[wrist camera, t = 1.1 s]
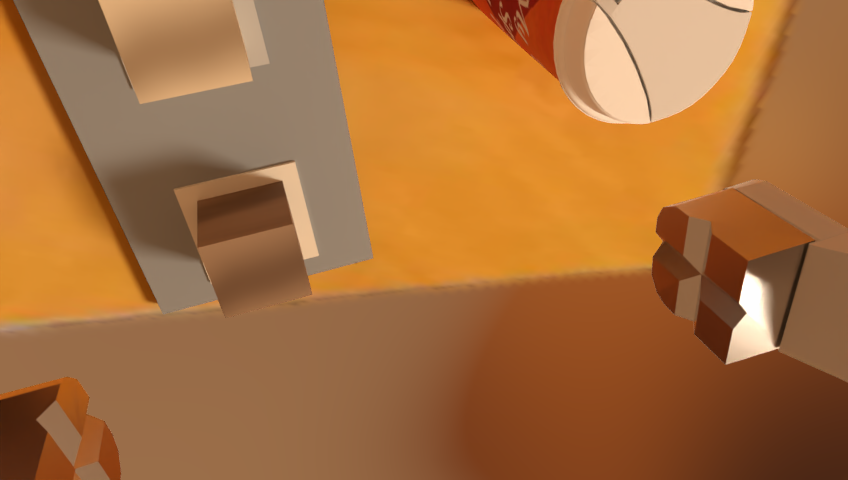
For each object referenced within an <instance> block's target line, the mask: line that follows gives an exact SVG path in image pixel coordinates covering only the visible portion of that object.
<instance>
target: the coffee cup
mask: <svg viewBox="0 0 848 480" xmlns="http://www.w3.org/2000/svg"><path fill="white" fill-rule="evenodd" d="M472 1H473V2H474V3H475V5H476V6H477V7H478V8H479V9H480V10H481V11H482V12H483V13H484V14H485V15H486V16H487V17H488V18H489V19H490V20H492V21H493V22H494V23H495V24H496V25H497V26H498V27H499V28H500V29H501V30H503V31H504V32H505V33H506V34H507V35H508V36H509V37H510V38H511V39H513V40H514V41H515V42H516V43H517V44H518V45H519V46H520V47H522V48H523V49H524V50H525V51H526V52H527V53H528V54H529V55H531V56H532V57H533V58H534V59H535V60H536V61H537V62H538V63H540V64H541V65H542V66H543V67H544V68H545V69H546V70H548V71H549V72H550V73H551V74H552V75H553V76H554V77H555V78H557V79H558V80H559V82H560V84H561V87H562V89H563V90H564V92H565V94H566V95H567V97H568V99H569V100H570V101H571V102H572V103H573V104H574V105H575V106H576V107H577V108H578V109H579V110H581V111H582V112H583V113H585V114H586V115H588V116H590V117H592V118H594V119H597V120H599V121H604V122H608V123H623V124H624V123H630V124H647V123H650V121H651V122H655V121H658V120H661V119H664V118H667V117H669V116H671V115H674V114H676V113H679V112H681V111H683V110H684V109H686V108H688V107H690V106H691V105H693V104H694V103H695V102H697V101H698V100H699V99H700V98H702V97H703V96H704V95H705V94H706V93H707V92H708V91H709V90H710V89H711V88H712V87H713V86H714V85H715V84H716V82H717V81H718V80H719V79H720V78H721V76H722V75H723V74H724V73H725V71H726V70H727V69H728V67H729V66H730V64H731V63H732V61H733V60H734V58H735V56H736V54H737V52H738V50H739V48H740V46H741V43H742V41H743V38H744V35H745V33H746V30H747V27H748V23H749V20H750V17H751V14H752V13H751V12H749V11H752V10H753V0H472ZM747 10H749V11H747Z"/></svg>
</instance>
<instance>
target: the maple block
mask: <svg viewBox="0 0 848 480" xmlns="http://www.w3.org/2000/svg"><path fill="white" fill-rule="evenodd" d="M99 3H100V5H101V8H102V10H103V13H104V15H105V18H106V20H107V23H108V25H109V28H110V30H111V33H112V35H113V38H114V40H115V43H116V45H117V48H118V50H119V53H120V56H121V58H122V61H123V63H124V66H125V68H126V71H127V73H128V76H129V78H130V81H131V83H132V86H133V88H134V91H135V93H136V96H137V98H138V101H139V103H140V104H143V103H148V102H153V101H158V100H163V99H168V98H172V97H177V96H182V95H187V94H192V93H197V92H201V91H206V90H211V89H216V88H221V87H226V86H231V85H235V84H240V83H245V82H250V81H253V79H252V75H251V70H250V65H249V61H248V56H247V52H246V48H245V44H244V40H243V37H242V33H241V29H240V26H239V22H238V19H237V15H236V11H235V8H234V4H233V0H99Z"/></svg>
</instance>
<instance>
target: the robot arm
mask: <svg viewBox="0 0 848 480" xmlns="http://www.w3.org/2000/svg"><path fill="white" fill-rule="evenodd" d="M656 233H657V234H658V236H659V237H660V238H661V239H662V240H663V243H662V244H661V246H660V247H659V249H658V250H657V252H656V253H655V254H654V256H653V263H652V278H653V281H654V284H655V288H656V291H657V293H658V295H659V297H660V298H661V300H662V301H663V303H664V304H665V305H666V306H667V307H668V309H669V310H671V312H672V313H673V314H674V315H677V316H679V317H683V318H685V319H688V320H691V321H694V334H695V335H696V336H697V337H698V338H699V339H700V340H701V341H702V342H703V343H704V344H705V345H706V346H707V347H708V348H709V349H710V350H711V351H712V352H713V353H714V354H715V355H716V356H717V357H718V358H719V359H721V361H722V362H723V363H724V364H725V365H726V364H729V363H733V362H736V361H739V360H742V359H746V358H749V357H752V356H755V355H758V354H762V353H765V352H768V351H771V350H775V349H778V348H779V352H782V353H784V354H786V355H788V356H790V357H793V358H795V359H797V360H800V361H802V362H804V363H806V364H808V365H810V366H813V367H815V368H817V369H819V370H822V371H824V372H826V373H828V374H831V375H833V376H835V377H837V378H840V379H842V380H844V381H846V382H848V228H846V227H844V226H842V225H841V224H839V223H837V222H836V221H834V220H832V219H830V218H829V217H827V216H825V215H823V214H822V213H820V212H818V211H817V210H815V209H813V208H812V207H810V206H808V205H806V204H805V203H803V202H801V201H800V200H798V199H796V198H794V197H793V196H791V195H789V194H788V193H786V192H784V191H782V190H781V189H779V188H777V187H776V186H774V185H772V184H770V183H769V182H767V181H762V180H756V179H754V180H750V181H747V182H744V183H741V184H737V185H734V186H731V187H728V188H725V189H723V190H722V191H718V192H715V193H711V194H708V195H704V196H701V197H697V198H694V199H691V200H687V201H684V202H680V203H677V204H673V205H670V206H667V207H663V208H662V210H661V212H660V214H659V216H658V218H657V225H656ZM88 403H89V396H88V394H87V393H86V392H85V390H84V389H83V387H82V386H81V384H80V383H79V382H78V380H77V379H74V378H70V377H64V378H61V379H57V380H53V381H50V382H46V383H42V384H38V385H34V386H30V387H26V388H23V389H19V390H15V391H11V392H8V393H4V394H0V480H121V479H120V478H121V468H120V460H119V451H118V448H117V445H116V443H115V440H114V437H113V434H112V433H111V431H110V429H109V428H108V426H107V424H106V423H105V421H103V420H100V419H98V418H95V417H93V416H90V415H87V414H86V413H87V408H88Z"/></svg>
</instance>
